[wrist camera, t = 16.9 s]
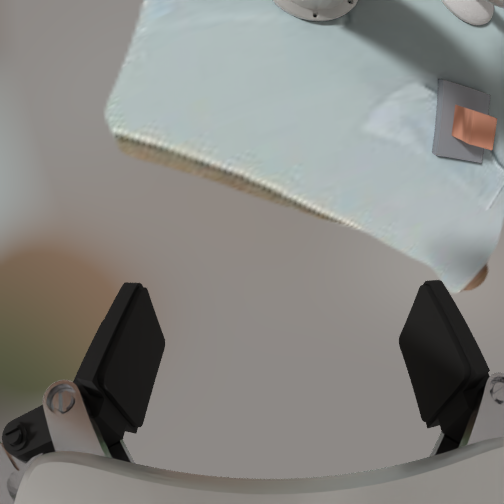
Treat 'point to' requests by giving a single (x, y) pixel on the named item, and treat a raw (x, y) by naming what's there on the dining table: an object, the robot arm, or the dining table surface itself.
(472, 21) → the candlestick
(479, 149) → the slate board
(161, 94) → the dining table surface
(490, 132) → the brown cube
